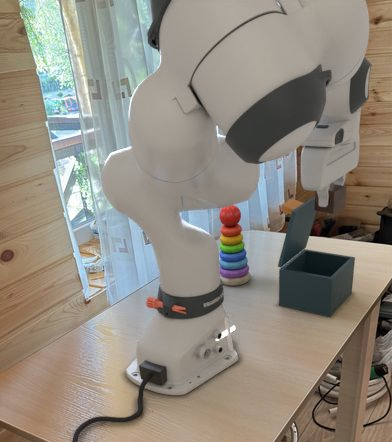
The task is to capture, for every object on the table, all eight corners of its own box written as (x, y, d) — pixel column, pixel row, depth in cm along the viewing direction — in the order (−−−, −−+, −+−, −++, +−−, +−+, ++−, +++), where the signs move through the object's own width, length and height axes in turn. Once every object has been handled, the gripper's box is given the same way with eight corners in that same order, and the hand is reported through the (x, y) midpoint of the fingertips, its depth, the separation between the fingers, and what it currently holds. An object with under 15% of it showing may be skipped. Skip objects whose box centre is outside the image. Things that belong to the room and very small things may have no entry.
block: (333, 214, 101) (334, 191, 99) (314, 210, 104) (315, 188, 102) (345, 208, 104) (346, 186, 101) (326, 204, 107) (327, 183, 104)
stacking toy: (250, 272, 131) (248, 199, 121) (250, 286, 124) (248, 209, 114) (219, 273, 132) (215, 201, 122) (217, 287, 125) (213, 211, 115)
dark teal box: (351, 293, 117) (355, 257, 112) (329, 317, 109) (332, 279, 104) (303, 283, 123) (304, 248, 119) (278, 305, 115) (279, 269, 110)
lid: (321, 194, 110) (301, 187, 112) (295, 212, 101) (274, 203, 103) (306, 247, 118) (287, 240, 120) (280, 267, 110) (261, 259, 111)
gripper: (339, 117, 104) (335, 186, 112) (295, 137, 90) (293, 214, 98) (370, 118, 101) (363, 188, 108) (329, 139, 87) (324, 218, 95)
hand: (330, 201), depth 103 cm, fingers closed on block, 5 cm apart
